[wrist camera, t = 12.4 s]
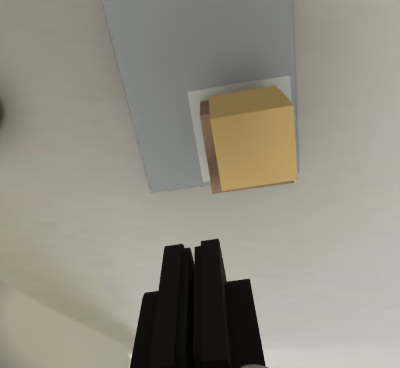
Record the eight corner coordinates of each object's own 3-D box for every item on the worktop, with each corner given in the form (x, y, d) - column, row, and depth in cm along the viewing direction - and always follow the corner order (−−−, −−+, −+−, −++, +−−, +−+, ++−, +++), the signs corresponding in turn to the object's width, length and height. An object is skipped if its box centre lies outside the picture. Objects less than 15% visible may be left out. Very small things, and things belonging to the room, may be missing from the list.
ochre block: (208, 96, 26) (210, 119, 21) (274, 85, 26) (293, 105, 21) (218, 156, 29) (222, 191, 23) (279, 147, 28) (297, 179, 23)
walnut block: (200, 101, 31) (199, 115, 27) (279, 89, 31) (290, 101, 27) (211, 171, 34) (212, 193, 30) (283, 161, 34) (294, 182, 30)
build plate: (103, -5, 29) (99, -5, 27) (287, -39, 27) (292, -42, 26) (152, 187, 37) (150, 193, 35) (296, 167, 35) (299, 173, 34)
